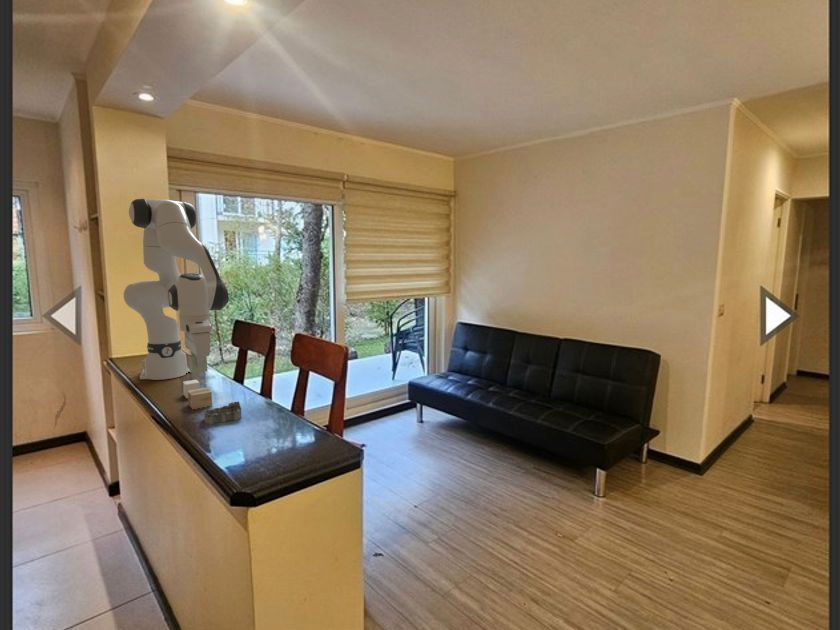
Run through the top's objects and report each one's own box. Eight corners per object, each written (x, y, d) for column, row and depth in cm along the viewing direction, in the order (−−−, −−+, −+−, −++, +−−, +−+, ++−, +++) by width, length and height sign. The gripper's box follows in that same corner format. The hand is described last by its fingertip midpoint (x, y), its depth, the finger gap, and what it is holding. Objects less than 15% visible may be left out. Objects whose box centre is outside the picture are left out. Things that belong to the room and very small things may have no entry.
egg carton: (241, 413, 143) (241, 400, 142) (242, 421, 136) (241, 408, 135) (204, 417, 138) (203, 404, 138) (203, 425, 132) (202, 412, 131)
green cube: (189, 370, 147) (188, 355, 146) (204, 368, 150) (203, 353, 149) (192, 373, 143) (191, 357, 143) (207, 370, 146) (206, 356, 146)
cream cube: (183, 395, 159) (182, 381, 158) (197, 392, 162) (196, 379, 161) (186, 398, 155) (185, 384, 155) (200, 396, 158) (199, 382, 157)
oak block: (188, 405, 149) (187, 390, 148) (207, 401, 152) (206, 387, 152) (192, 410, 144) (191, 395, 143) (212, 406, 148) (211, 391, 147)
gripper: (178, 321, 151) (181, 360, 153) (190, 329, 135) (193, 373, 137) (198, 319, 155) (201, 358, 156) (213, 327, 138) (215, 370, 140)
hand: (197, 365), depth 146 cm, fingers closed on green cube, 4 cm apart
